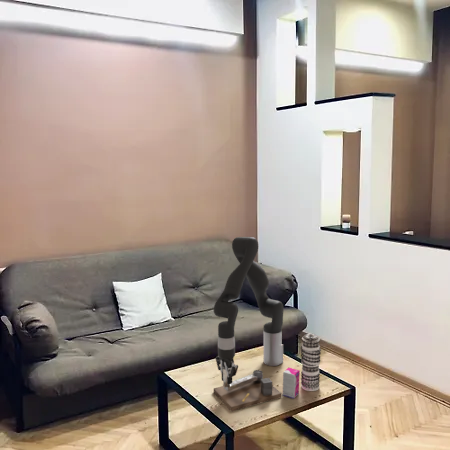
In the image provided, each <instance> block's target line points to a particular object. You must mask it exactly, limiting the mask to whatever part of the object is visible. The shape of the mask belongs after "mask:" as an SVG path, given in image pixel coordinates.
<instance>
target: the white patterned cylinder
mask: <svg viewBox="0 0 450 450" xmlns="http://www.w3.org/2000/svg"><path fill="white" fill-rule="evenodd" d="M301 340H302V343H301V346H300V357H301V360H300V362H301V365H302V366H301V372H300V373H301V375H300V376H301V378H300V381H301V382H300V385H301V387H300V388H302V389H303V390H304V391H307V392H316V391H318V390H319V389H320V382H321V380H320V378H321V377H320V375H321V374H320V373H321V372H320V367H319V366H320V365H321V364H320V363H321V356H320V355H321V354H322V351H321V350H322V349H321V348H320V340H321V338H320V337H319V336H318V335H317V334H315V333H305V334H304V335H303V336H302V337H301Z"/></svg>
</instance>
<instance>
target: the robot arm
mask: <svg viewBox="0 0 450 450" xmlns="http://www.w3.org/2000/svg"><path fill="white" fill-rule="evenodd" d="M231 248H232V252H233V254H234V256H235V258H236V260H237V261H238V263H239V265H238V266H237V267H235V269H234V270H233V271H231V273H230V275H229V276H228V277H227V280H226V282H225V285H224V287H223V288H224V289H223V291H222V292H221V294H220V295H219V297H218V299H217V300H216V301H215V303H214V306H213V313H214V316H215V317H217V318H218V317H219V318H224V319H227V320H225V321H221V322H219V323H218V326H217V331H218V333H217V335H218V336H217V337H218V338H217V356H216V357H215V362H216V366H217V370H218V371H220V373H221V382H223V368H225V370H226V372H227V384H231V383H232V381H233V377H235V376H236V375H237V373H238V368H239V365H238V364H235V361H234V358H235V356H236V339H235V337H236V336H235V325H236V320H237V318H238V313H239V307H238V305H237V303H235V302H232V301H231V300H237V299H238V298H239V297H240V294H241V290H242V287H243V283H244V282H245V278H247V279H246V280H247V282H248V283H249V285H250V288H251V290H252V292H253V295H254V297H255V299H256V302H257V303H256V304H257V307H258V309H259V312H260V314H261V315H262V316H263V317H265V318H269V319H271V321H269V322H266V323H264V324H263V327H262V328H263V364H264V365H266V366H270V367H276V366H279V365H281V364H282V363H283V364H284V344H282V339H283V338H282V337H283V336H282V334H283V333H282V329H283V325H284V303H282V301H280V300H275V299H271V298H270V297H269V296H268V295H267V291H268V289H269V285H270V283H269V278H268V276H267V273H266V271H265V269H264V268H263V267H262V266H261V265H260V264H258V263H257V262H256V261H255V258H256V256H257V254H258V251H259V242H258V240H257V238H256V237H251V236H238V237H235V238H233V240H232V242H231ZM229 368H230V369H229ZM229 371H230V374H229Z"/></svg>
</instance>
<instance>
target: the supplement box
mask: <svg viewBox="0 0 450 450" xmlns="http://www.w3.org/2000/svg"><path fill="white" fill-rule="evenodd" d="M300 371H301V370H300V369H295V368H292V367H287V368H286V369H285V370H284V371H282V396H283V397H285V398H289V399H295V398H296V397H297V396H298V395H299V394H300V376H301V375H300V373H301V372H300Z"/></svg>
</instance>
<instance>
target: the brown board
mask: <svg viewBox="0 0 450 450" xmlns="http://www.w3.org/2000/svg"><path fill="white" fill-rule="evenodd" d="M213 393H214V395H215V396H216V397H217V398H218V399H219V400H220V401H221V402H222V403H223V404H224V405H225V406H226V407H227V408H228V409H229V411H230V412H234V411H237V410H241V409H245V408H249V407H252V406H255V405H260V404H262V403H266V402H270V401H273V400H277V399H280V398H282V395H283V392H281V391H280V390H278V389H277V388H276V387H275V386H274V385H273V381H272V380H271V378H270V377H265V378H264V377H263V379H261V383H255V382H251V383H248V384H246V385H243V386H241V387H238V388H235V389H233V390H230V391H227V390H225V389H224V386H223V385H222V386H218V387H214V388H213Z"/></svg>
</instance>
